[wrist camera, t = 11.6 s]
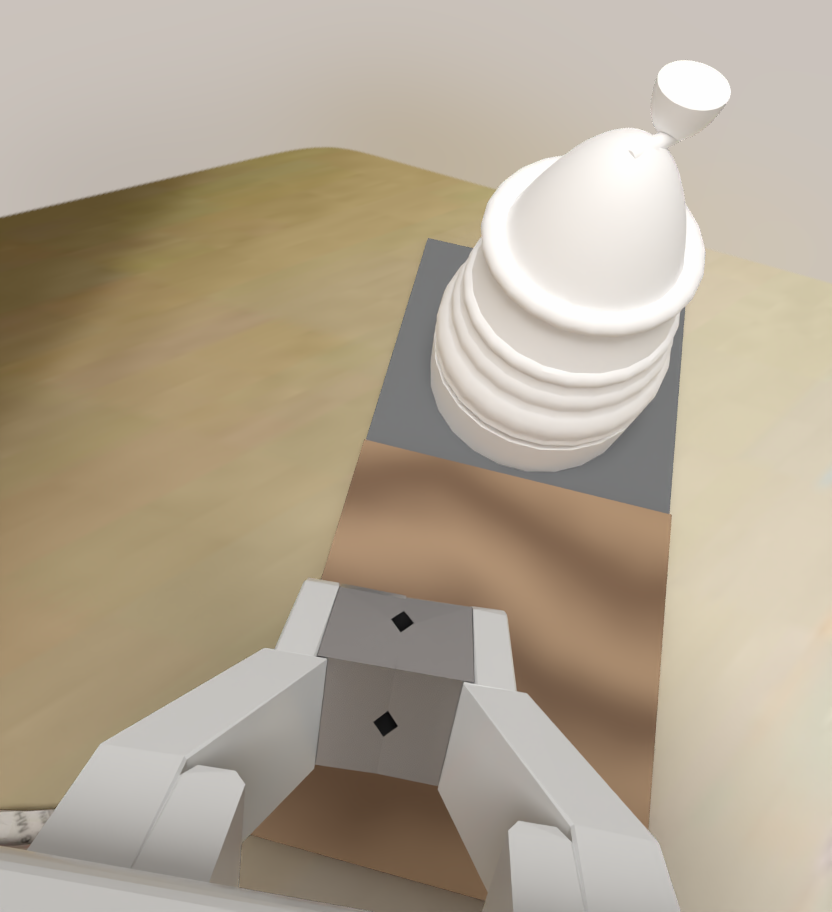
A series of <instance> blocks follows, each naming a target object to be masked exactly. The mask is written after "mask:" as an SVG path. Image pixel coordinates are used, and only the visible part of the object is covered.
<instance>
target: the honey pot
mask: <svg viewBox="0 0 832 912" xmlns="http://www.w3.org/2000/svg"><path fill="white" fill-rule="evenodd" d="M730 94H731V90H730V85H729V83H728V81H727V80H726V78H725V77H724V76H723V75H722V74H721V73H719V72H718V71H717V70H715V69H714V68H712V67H710V66H708V65H706V64H703V63H700V62H696V61H687V60H686V61H685V60H682V61H675V62H671V63H669V64H667V65H665V66H664V67H663V68H662V69H661V70H660V72H659V74H658V76H657V79H656V82H655V84H654V88H653V93H652V98H651V118H652V122H653V125H654V127H655V129H656V130H657V132H658V133H657V134H655V135H653V134H651V133H649V132H646V131H644V130H640V129H636V128H622V129H616V130H610V131H607V132H605V133H602V134H600V135H597V136H595V137H592V138H590V139H588V140H586V141H584V142H583V143H581V144H579V145H578V146H576V147H575V148H573V149H572V150H570V151H569V152H568V153H566V154H565V155H563V156H557V157H551V158H545V159H542V160H540V161H537V162H535V163H532V164H530V165H527V166H525V167H523V168H521V169H519V170H518V171H517V172H515V173H514V174H513V175H511V176H510V177H509V178H507V179H506V180H505V181H503V182H502V183H501V184H500V186H499V187H498V188H497V190H496V191H495V193H494V194H493V195H492V197H491V198H490V200H489V201H488V203H487V206H486V209H485V213H484V216H483V220H482V223H481V238H480V239H479V241H478V242H477V244H476V245H475V246H474V248H473V249H472V251H471V252H470V254H469V257H468V259H467V260H466V262H465V263H464V264H462V265H461V266H460V268H459V269H458V271H457V272H456V274H455V275H454V276H453V278H452V279H451V281H450V282H449V284H448V285H447V287H446V289H445V291H444V294H443V297H442V300H441V303H440V307H439V310H438V313H437V322H436V326H435V333H434V340H433V347H432V355H431V362H430V367H431V388H432V392H433V395H434V398H435V401H436V404H437V407H438V410H439V412H440V413H441V415H442V416H443V418H444V419H445V421H446V422H447V424H448V425H449V427H450V428H451V430H452V431H453V432H454V433H455V434H456V435H457V436H458V437H459V438H460V439H461V440H462V441H463V442H465V443H466V444H467V445H468V446H469V447H470V448H471V449H472V450H473V451H475V452H477V453H479V454H481V455H483V456H485V457H486V458H488V459H490V460H492V461H494V462H496V463H498V464H500V465H504V466H508V467H512V468H516V469H519V470H523V471H534V472H556V471H560V470H564V469H569V468H573V467H577V466H581V465H583V464H585V463H587V462H588V461H590V460H592V459H594V458H595V457H597V456H599V455H601V454H602V453H604V452H605V451H606V450H607V449H608V448H609V447H610V446H611V445H612V444H613V443H614V442H615V440H616V439H617V438H618V437H619V436H620V435H621V434H622V433H623V432H624V431H625V430H626V429H627V427H628V426H629V425H630V424H631V423H632V422H633V421H634V420H635V419H636V417H637V416H638V415H639V414H640V413H641V412H642V411H643V409H644V408H645V407H646V406H647V405H648V404H649V403H650V402H651V401H652V400H653V398H654V397H655V396H656V394H657V392H658V389H659V387H660V385H661V383H662V381H663V379H664V377H665V374H666V372H667V370H668V368H669V362H670V353H671V347H672V345H673V337H674V335H675V333H676V331H677V329H678V326H679V318H680V311H681V310H682V309H683V308H684V307H685V306H686V305H687V304H688V303H689V302H690V301H691V300H692V299H693V297H694V295H695V293H696V290H697V288H698V286H699V284H700V282H701V280H702V278H703V275H704V265H705V253H706V252H705V248H704V244H703V239H702V236H701V231H700V227H699V226H698V224H697V222H696V220H695V219H694V217H693V215H692V213H691V212H690V210H689V208H688V206H687V205H686V204H685V198H684V191H683V187H682V182H681V178H680V174H679V171H678V167H677V165H676V163H675V160H674V158H673V157H672V155H671V153H670V151H669V150H668V148H669V147H671V146H673V145H675V144H677V143H679V142H680V141H681V140H683V139H687V138H689V137H692V136H694V135H695V134H697V133H699V132H700V131H702V130H703V129H704V128H706V127H707V126H708V125H709V124H710V123H711V122H712V121H713V120H714V119H715V118H716V117H717V115H718V114H719V113H720V111H721V110H722V109H723V108H724V106H725V105H726V103H727V102H728V100H729V98H730Z"/></svg>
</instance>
